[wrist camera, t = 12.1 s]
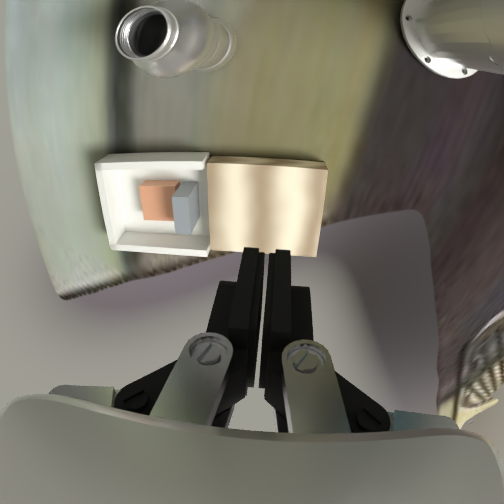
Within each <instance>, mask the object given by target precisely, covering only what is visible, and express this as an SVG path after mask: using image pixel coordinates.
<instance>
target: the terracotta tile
mask: <svg viewBox="0 0 504 504" xmlns="http://www.w3.org/2000/svg"><path fill="white" fill-rule="evenodd" d="M179 186H180V181H174V180H145V181H144V182H143V183H142V184H141V185H140V186H139V189H140V197H141V204H142V211H143V217H144V220H155V221H174V215H173V205H172V196H173V194H174V193H175V192H176V190H177V189H178V188H179Z"/></svg>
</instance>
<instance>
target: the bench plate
mask: <svg viewBox="0 0 504 504" xmlns="http://www.w3.org/2000/svg"><path fill="white" fill-rule="evenodd" d="M327 174H328V169H327V166H326V164H325V162H315V161H303V160H290V159H275V158H257V157H233V156H212V157H211V158H210V159H209V161H208V162H207V183H208V208H209V230H210V249H211V250H221V251H236V252H243V250H244V247H253V248H259V252H265V254H269V253H275V250H276V249H282V250H290V251H291V255H295V256H309V257H316V254H317V248H318V241H319V234H320V228H321V221H322V213H323V206H324V198H325V191H326V183H327Z"/></svg>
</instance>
